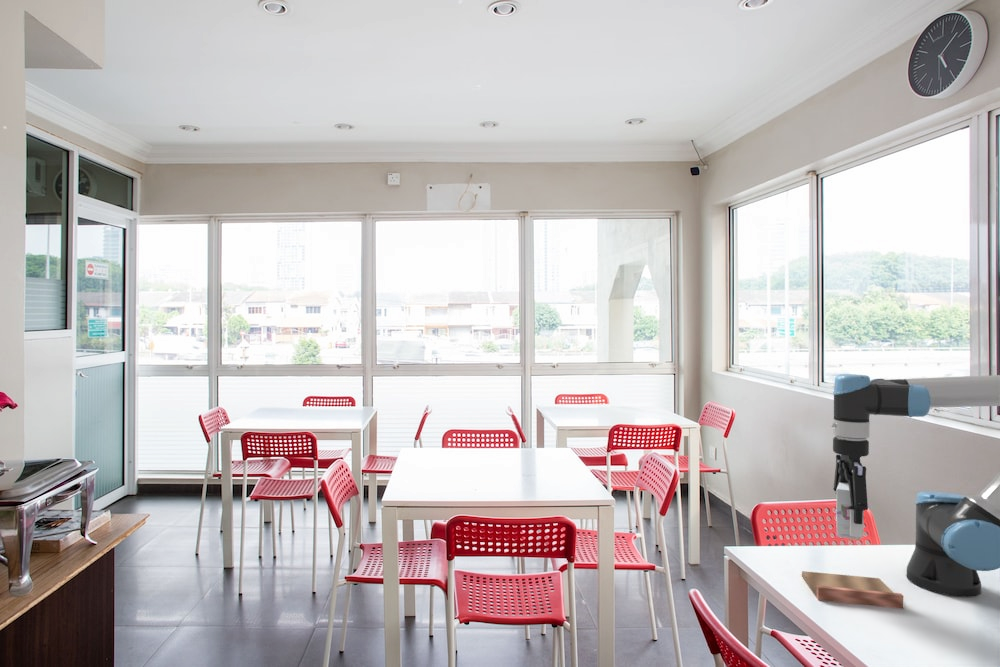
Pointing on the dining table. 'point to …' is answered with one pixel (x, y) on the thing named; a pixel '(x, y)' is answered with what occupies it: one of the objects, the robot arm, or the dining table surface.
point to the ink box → (843, 511)
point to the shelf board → (852, 589)
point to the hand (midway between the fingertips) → (849, 529)
